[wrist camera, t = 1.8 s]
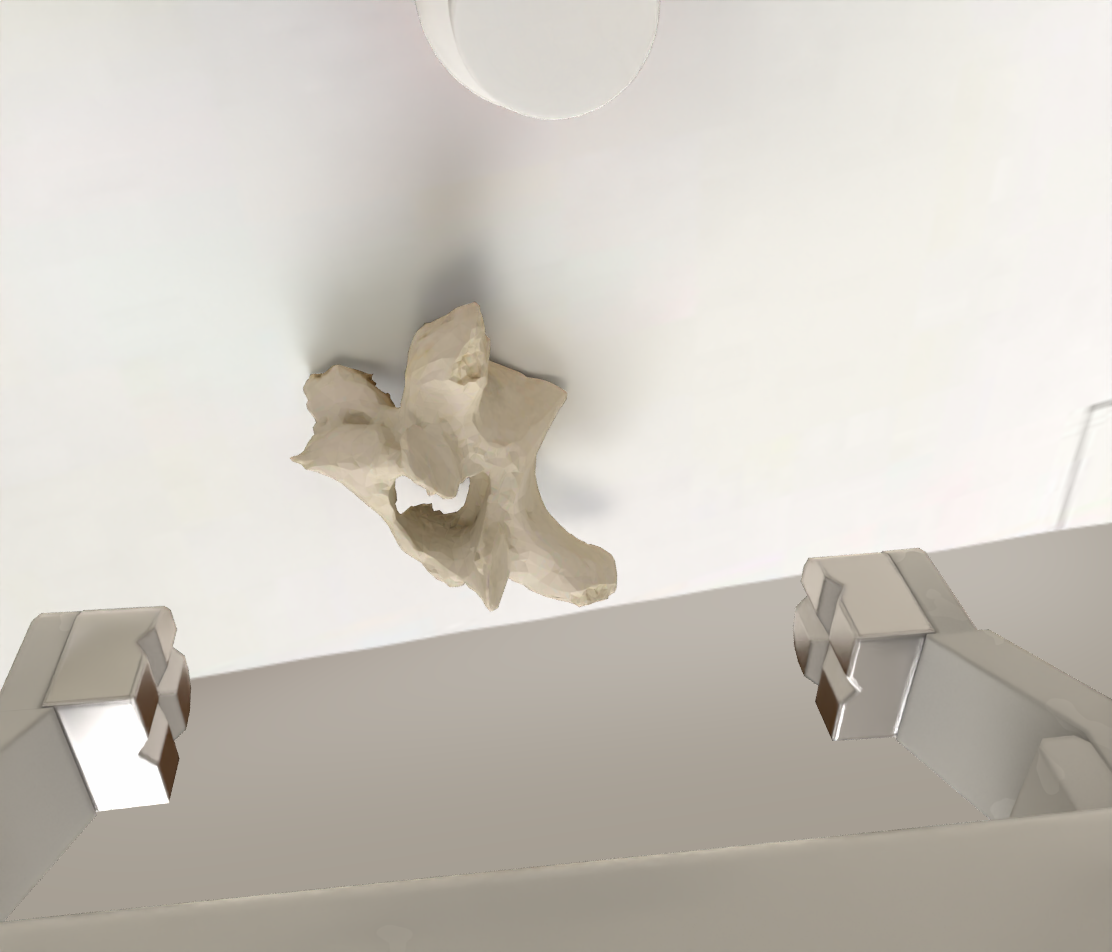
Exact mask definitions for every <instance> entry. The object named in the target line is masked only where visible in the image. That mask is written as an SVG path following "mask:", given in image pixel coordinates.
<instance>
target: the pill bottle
mask: <svg viewBox="0 0 1112 952" xmlns="http://www.w3.org/2000/svg"><path fill="white" fill-rule="evenodd" d="M414 1H415V5H416V8H417V12H418V16H419V19H420V23H421V25H422V28H423V31H424V33H425V36H426V38H427V40H428V42H429V44H430V46H431V48H432V49H433V51H434V53H435V54H436V56H437V57H438V59H439V60H440V62H441V63H442V64H443V66H444V67H445V68H446V69H447V70H448V71H449V73H450V74H451V75H452V76H453V77H454V78H455V79H456V80H457V81H458V82H460V83H461V84H462V85H463V86H465V87H466V88H467V89H468V90H470V91H471V92H473V93H474V94H476V95H478V96H479V97H481V98H483V99H485V100H486V101H489V102H491V103H493V104H496V105H498V106H501V107H504V108H507V109H509V110H511V111H514V112H516V113H519V114H522V115H525V116H528V117H532V118H537V119H546V120H560V119H569V118H573V117H577V116H581V115H584V114H587V113H589V112H592V111H594V110H597V109H598V108H600V107H602V106H604V105H605V104H607V103H608V102H610V101H611V100H613V99H614V98H615V97H616V96H618V95H619V94H620V93H621V92H622V91H623V90H624V89H625V88H626V87H627V86H628V85H629V84H630V83H631V82H632V81H633V79H634V78H635V77H636V75H637V74H638V72H639V71H640V69H641V68H642V66H643V65H644V63H645V61H646V59H647V57H648V55H649V53H650V50H651V48H652V45H653V41H654V38H655V36H656V32H657V26H658V19H659V8H660V0H414Z"/></svg>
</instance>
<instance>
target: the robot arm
mask: <svg viewBox="0 0 1112 952" xmlns="http://www.w3.org/2000/svg"><path fill="white" fill-rule="evenodd" d="M801 583H802V585H803V587H804V589H805V591H806V593H807V596H806V597H805V598H804V599H803V600H802V601H801V602H800V603H799V604H798V605H797V606H796V610H795V616H794V624H793V632H794V646H795V651H796V655H797V659H798V662H799V664H800V667H801V670H802V672H803V674H804V676H805V677H806V678H808V679H809V680H811V681H812V682H814V683H815V684H817V685H818V691H817V696H816V701H815V702H816V705H817V707H818V709H819V711H820V714H821V716H822V718H823V720H824V723H825V725H826V727H827V729H828V732H829V734H830V736H831V738H832V741H838V740H854V739H868V738H883V737H896V740H897V741H898V742H899V743H900V744H902V745H903V746H904V747H905V748H906V749H907V750H909V751H910V752H911V753H912V754H913V755H914V756H916V757H917V758H918V759H919V760H920V761H922V762H923V763H924V764H925V765H926V766H927V767H929V768H930V769H931V770H932V771H934V773H936V774H937V775H938V776H939V777H940V778H941V779H943V780H944V781H945V782H946V783H947V784H949V785H950V786H951V787H952V788H953V789H954V790H956V791H957V792H958V793H959V794H960V795H962V796H963V797H964V798H965V799H966V800H968V801H969V802H970V803H971V804H972V805H973V806H974V807H976V808H977V809H978V810H979V811H981V812H982V813H983V814H984V815H985V816H986V817H988V818H989V819H990V820H985V821H975V822H965V823H956V824H946V825H937V826H926V827H918V828H907V829H898V830H888V831H878V832H869V833H859V834H850V835H840V836H831V837H821V838H811V839H801V840H791V841H781V842H773V843H762V844H753V845H742V846H733V847H722V848H713V849H703V850H693V851H683V852H673V853H664V854H654V855H644V856H635V857H625V858H614V859H605V860H595V861H585V862H576V863H566V864H558V865H547V866H537V867H527V868H518V869H508V870H498V871H489V872H479V873H469V874H459V875H450V876H440V877H430V878H421V879H411V880H401V881H392V882H383V883H372V884H362V885H353V886H343V887H334V888H324V889H314V890H304V891H295V892H285V893H275V894H266V895H255V896H247V897H236V898H226V899H217V900H207V901H198V902H187V903H178V904H168V905H159V906H149V907H139V908H129V909H120V910H110V911H100V912H92V913H91V912H90V913H81V914H71V915H61V916H51V917H42V918H33V919H22V920H14V921H5V920H6V919H7V918H8V916H9V915H10V914H11V913H12V912H13V911H14V910H15V908H16V907H17V906H18V905H19V904H20V903H21V902H22V900H23V899H24V898H25V897H26V896H27V894H28V893H29V892H30V891H31V890H32V889H33V888H34V887H35V885H36V884H37V883H38V882H39V880H41V878H42V877H43V876H44V875H45V874H46V873H47V872H48V871H49V869H50V868H51V867H52V866H53V865H54V864H55V862H56V861H57V860H58V859H59V858H60V857H61V856H62V854H63V853H64V852H65V851H66V850H67V849H68V848H69V846H70V845H71V844H72V843H73V842H74V841H75V840H76V838H77V837H78V836H79V835H80V834H81V833H82V832H83V830H84V829H85V828H86V827H87V826H88V824H89V823H90V822H91V821H92V820H93V819H94V818H95V817H96V812H95V811H103V810H112V809H120V808H129V807H137V806H146V805H153V804H162V803H169V800H170V796H171V792H172V787H173V783H174V779H175V774H176V770H177V766H178V762H179V756H178V752H177V749H176V746H175V742H174V740H175V739H176V738H178V737H179V735H181V733H183V732H184V731H185V730H186V727H187V722H188V717H189V712H190V693H191V686H190V678H189V670H188V666H187V663H186V659H185V655H183V654H182V653H181V652H179V651H178V650H176V649H175V648H174V647H173V643H174V639H175V635H176V631H177V628H176V625H175V622H174V619H173V616H172V613H171V610H170V609H169V608H167V607H165V606H155V607H136V608H117V609H98V610H83V611H75V612H55V613H41V614H39V615H38V616H37V617H36V618H35V619H34V620H33V621H32V622H31V624H30V626H29V628H28V630H27V633H26V635H25V637H24V640H23V642H22V644H21V646H20V649H19V651H18V653H17V655H16V658H15V660H14V662H13V664H12V667H11V669H10V671H9V673H8V676H7V678H6V680H5V683H4V685H3V687H2V689H1V692H0V952H1112V699H1111V698H1109V697H1107V696H1105V695H1103V694H1102V693H1100V692H1098V691H1096V690H1095V689H1093V688H1091V687H1089V686H1087V685H1086V684H1084V683H1082V682H1080V681H1079V680H1077V679H1075V678H1073V677H1072V676H1070V675H1068V674H1066V673H1065V672H1062V671H1061V670H1059V669H1058V668H1056V667H1054V666H1052V665H1050V664H1049V663H1047V662H1045V661H1043V660H1042V659H1040V658H1038V657H1036V656H1035V655H1033V654H1031V653H1029V652H1027V651H1026V650H1024V649H1022V648H1020V647H1019V646H1017V645H1015V644H1013V643H1012V642H1010V641H1008V640H1006V639H1005V638H1003V637H1001V636H999V635H998V634H996V633H994V632H992V631H990V630H989V629H987V630H977V628H976V627H975V625H974V624H973V622H972V621H971V619H970V618H969V616H968V615H967V613H966V612H965V610H964V609H963V607H962V606H961V604H960V603H959V601H958V600H957V598H956V597H955V595H954V594H953V592H952V591H951V589H950V588H949V586H948V585H947V583H946V582H945V580H944V579H943V577H942V576H941V574H940V573H939V571H938V570H937V568H936V567H935V565H934V564H933V562H932V561H931V559H930V558H929V556H928V555H927V553H926V552H925V551H923V550H921V549H920V548H911V549H901V550H890V551H882V552H881V553H880V552H875V553H863V554H851V555H838V556H826V557H814V558H808V560H807V562H806V563H805V565H804V568H803V573H802V578H801Z"/></svg>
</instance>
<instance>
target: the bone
mask: <svg viewBox="0 0 1112 952" xmlns="http://www.w3.org/2000/svg"><path fill="white" fill-rule="evenodd" d="M489 355H490V339H489V338H488V337H487V336H486V335H485V326H484V320H483V316H482V314H481V312H480V306H479V305H478V304H477V303H476V302H473V303H470V304H466V305H463V306H460V307H457V308H456V309H454V310H452V311H451V312H450V313H449V314H447V315H445V316H443V317H441V318H439V319H437V320H435V321H433V322H431V323H424V325H423V327H422V328H420V329H419V330H418V331H417V332H416V333H415V335H414V337H413V340H412V343H411V346H410V348H409V351H408V360H407V367H406V371H405V388H404V392H403V396H402V399H401V403H400V405H401V407H399V408H396V407H395V405H394V403H393V402H392V400H391V399H390V395H389V393H386V394H385V393H384V392H382V391H381V390H379V389H378V388H377V387H376V386H375V385H376V383H375V382H374V381H373V380H372V375H373V374H367V373H365V372H362V371H359V370H356V369H352V368H349V367H345V366H342V365H333V366H332V367H331V368H330V369H328V370H327V371H326V372H325V373H323V374H322V373H320V374H311V375H310V377H309V379H308V380H307V381H306V383H305V385H304V387H303V391H304V393H305V395H306V397H307V399H308V401H307V404H306V405H307V409H308V411H309V412H310V413H311V414H312V416H313V417H314V418H315V421H316V423H315V425H314V427H313V430H314V436H312V438H311V440H310V441H309V442H308V444H307V446H306V447H305V449H304V451H303V452H302V453H301V454H299V455H297V456H293V457H291V458H290V459H291V460H292V461H293V462H296V463H299V464H301V465H302V466H303V467H304V468H305V469H306V470H311V471H315V472H318V473H320V474H323V475H326V476H328V477H331V478H333V479H335V480H337V481H338V482H340V483H342V484H343V485H344V486H345V487H347V488H348V489H349V490H350V491H351V492H353V493H354V494H355V495H356V496H357V497H358V498H360V499H361V500H362V501H363V502H364V503H365V504H367V505H368V506H369V507H370V508H372V509H373V510H374V511H375V512H376V513H378V514H379V515H380V516H381V517H382V518H383V520H384V521H385V522H386V523H387V524H388V526H389V528H390V530H391V532H392V534H393V535H394V537H395V539H396V541H397V543H398V545H399V546H400V548H401V550H403V551H404V552H405V553H406V554H408V555H410V556H411V557H413V558H414V559H416V560H418V561H419V562H421V563H422V564H423V566H424V567H425V568H426V569H427V571H428V572H429V573H430V574H432V575H433V576H434V577H435V578H436V579H437V580H440V581H442V582H445V583H446V584H447V585H448V586H449V587H459V586H463V585H464V584H465V583H466V585H467V586H468V587H469V588H470V589H472V590H473V591H475V592H476V593H477V594H478V595H479V597H480V598H481V599H482V600H483V602H484V604H485V606H486V607H487V608H488V610H489V611H493V610H495V609H497V608H498V607H499V603H500V600H501V597H502V594H503V592H504V589H505V586H506V583H507V580H508V578H509V579H511V580H512V581H514V582H517V583H519V584H522V585H524V586H525V587H526V588H528V589H529V590H531V591H533V592H536V593H538V594H540V595H543V596H545V597H549V598H553V599H557V600H561V601H565V602H569V603H573V604H575V605H577V606H578V607H581V606H584V605H589V604H592V603H594V602H598V601H603V600H605V599H608V596H609V595H611V594H612V593H614V592H615V590H616V587H617V571H616V564H615V560H614V558H613V556H612V555H611V554H610V553H608V552H607V551H605V550H604V549H602V548H601V547H598V546H595V545H592V544H587V543H585V542H584V541H581V540H579V539H577V538H576V537H575V536H573V535H572V534H569V533H568V532H567V531H566V530H565V529H564V528H563V527H562V526H561V525H560V524H559V523H558V522H557V521H556V520H555V519H554V518H553V517H552V516H551V515H550V514H549V512H548V511H547V510H546V508H545V506H544V503H543V501H542V499H541V496H540V493H539V490H538V486H537V481H536V476H535V466H536V454H537V452H538V450H539V448H540V446H541V444H542V442H543V440H544V438H545V436H546V433H547V431H548V430H549V428H550V426H551V424H552V422H553V420H554V418H555V417H556V415H557V413H558V411H559V410H560V408H561V407H562V405H563V404H564V402H565V401H566V399H567V392H566V391H565V390H563V389H562V388H560V387H558V386H557V385H555V384H553V383H550V382H548V381H545V380H542V379H537V378H528V377H526V376H525V375H523V374H522V373H521V372H518V371H515V370H513V369H510V368H507V367H505V366H502V365H500V364H497V363H495V362H492V361H490V360H489ZM400 476H406V477H408V478H409V479H411V480H412V481H413V482H414V483H416V484H418V485H419V486H421V487H423V488H425V489H426V491H427V494H428V495H429V496H431V495H434V494H437V495H439V496H440V497H441V498H443V499H452V498H454V497H456V495H457V491H458V487H459V484H461V483H463V482H464V480H465V479H466V478H470V485H469V491H468V494H467V498H466V502H465V505H464V506H463V507H462V508H461V509H460V510H459V511H457V512H453V513H448V514H443V513H442V512H441V511H440V510H438V511H433V508H432V503H431V504H420V505H417V506H414V507H413V506H411V507H409V508H408V509H407V510H406V511H405V512H403V513H402V514H400V513H399V512H398V511H397V508H396V505H395V503H396V501H397V496H396V490H395V479H396V478H398V477H400Z"/></svg>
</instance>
